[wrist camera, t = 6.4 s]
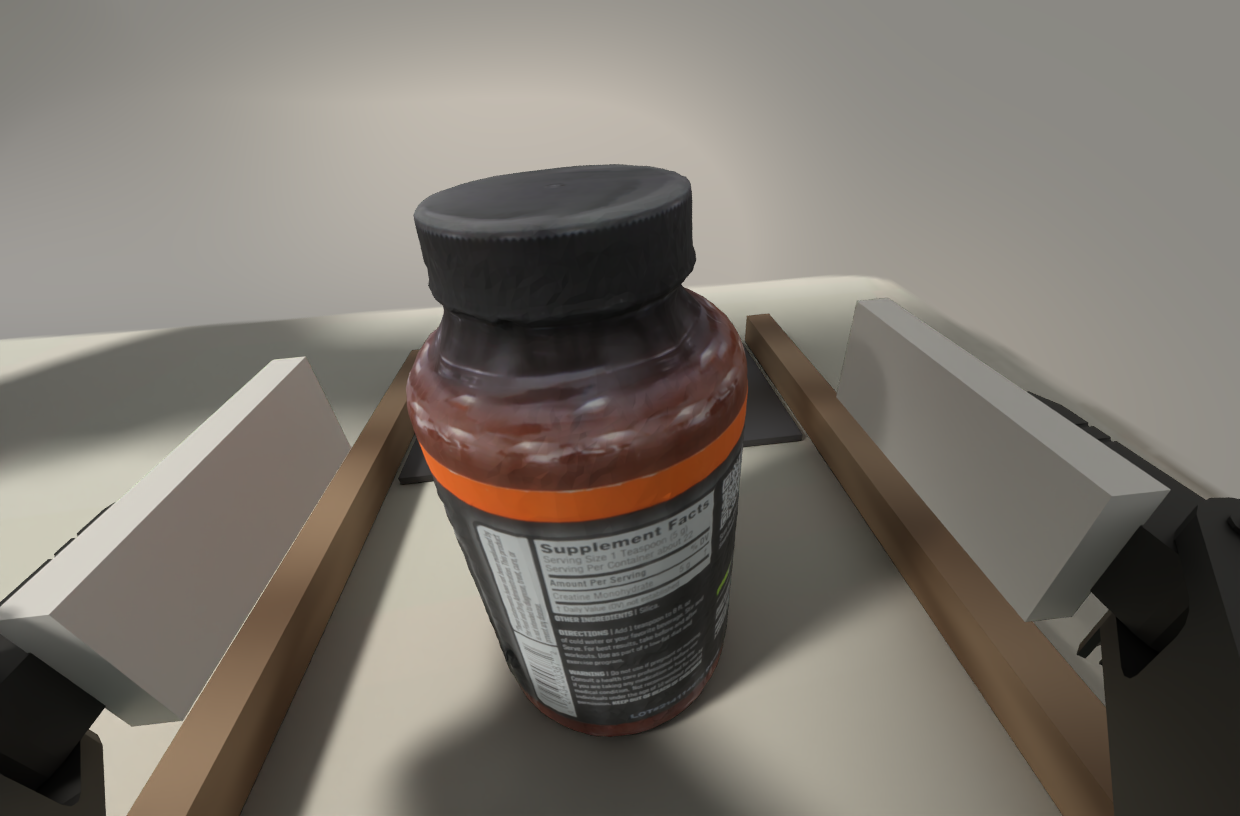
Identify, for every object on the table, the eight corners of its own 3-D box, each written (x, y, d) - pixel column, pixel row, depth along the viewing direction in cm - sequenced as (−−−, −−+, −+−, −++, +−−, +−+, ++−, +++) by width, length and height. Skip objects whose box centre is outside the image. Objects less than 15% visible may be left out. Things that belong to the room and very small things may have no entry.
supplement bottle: (520, 550, 16) (412, 171, 9) (701, 532, 16) (713, 143, 9) (491, 763, 11) (219, 265, 4) (753, 737, 11) (851, 209, 5)
